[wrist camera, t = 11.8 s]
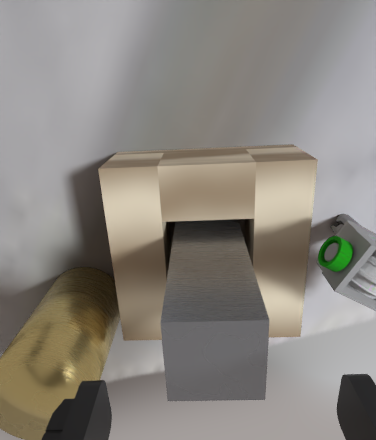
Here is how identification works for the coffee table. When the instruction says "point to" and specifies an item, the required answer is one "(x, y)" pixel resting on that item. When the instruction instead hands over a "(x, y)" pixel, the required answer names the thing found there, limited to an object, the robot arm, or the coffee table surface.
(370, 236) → the mechanical component
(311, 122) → the coffee table surface
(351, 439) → the robot arm
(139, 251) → the socket block
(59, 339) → the round brass bit
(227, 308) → the bar
